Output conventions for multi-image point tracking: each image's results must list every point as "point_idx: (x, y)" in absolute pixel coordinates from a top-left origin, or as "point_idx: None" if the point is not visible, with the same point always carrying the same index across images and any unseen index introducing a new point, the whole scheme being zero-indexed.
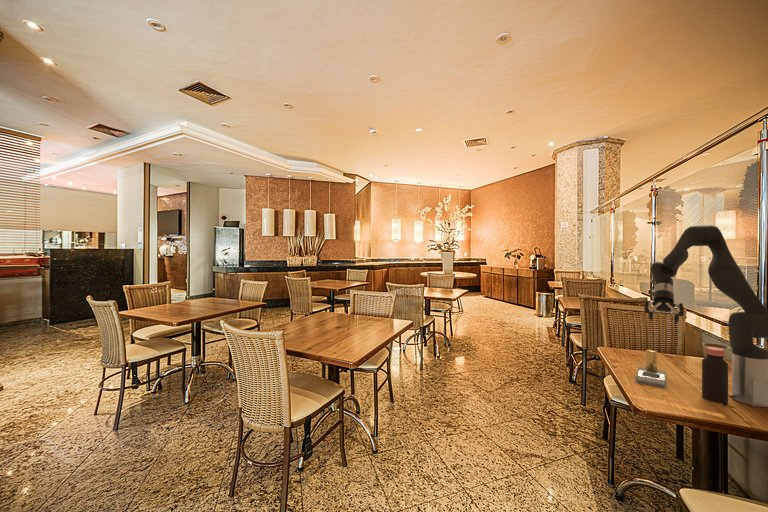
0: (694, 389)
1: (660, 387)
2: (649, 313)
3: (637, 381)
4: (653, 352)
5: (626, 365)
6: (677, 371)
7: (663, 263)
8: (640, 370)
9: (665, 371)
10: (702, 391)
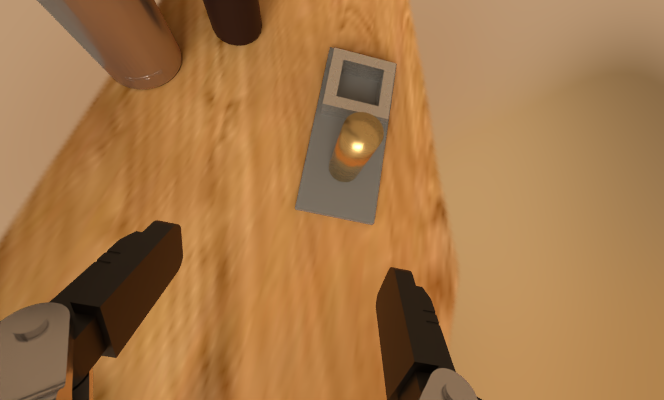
0: (255, 93)
1: None
2: (444, 353)
3: None
4: (358, 113)
5: (404, 246)
6: (249, 258)
7: None
8: (384, 113)
9: (297, 207)
10: (259, 9)
